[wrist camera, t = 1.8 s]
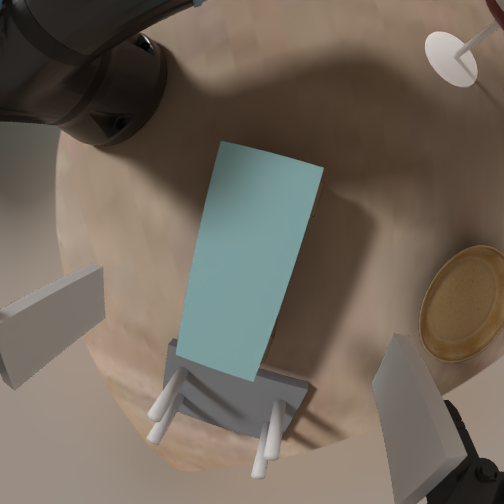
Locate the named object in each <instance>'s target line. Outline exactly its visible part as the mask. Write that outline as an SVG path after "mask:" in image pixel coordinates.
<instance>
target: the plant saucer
mask: <svg viewBox="0 0 504 504" xmlns="http://www.w3.org/2000/svg"><path fill="white" fill-rule="evenodd" d="M503 327H504V254H503V253H502V252H501V251H500V250H498V249H496V248H494V247H492V246H488V245H476V246H472V247H469V248H467V249H464V250H462V251H461V252H459V253H457V254H456V255H455V256H453V257H452V258H451V259H449V260H448V261H447V262H446V263H445V264H444V266H443V267H442V268H441V269H440V270H439V271H438V273H437V274H436V275H435V277H434V279H433V280H432V282H431V284H430V285H429V287H428V289H427V291H426V294H425V296H424V299H423V302H422V305H421V309H420V314H419V334H420V339H421V342H422V345H423V347H424V348H425V350H426V351H427V353H429V354H430V355H431V356H432V357H433V358H435V359H437V360H439V361H442V362H448V363H455V362H460V361H464V360H467V359H469V358H471V357H474V356H475V355H477V354H479V353H480V352H482V351H483V350H484V349H486V348H487V347H488V346H489V345H490V344H491V343H492V342H493V341H494V340H495V338H496V337H497V336H498V335H499V333H500V332H501V330H502V329H503Z"/></svg>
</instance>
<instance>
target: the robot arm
mask: <svg viewBox="0 0 504 504" xmlns="http://www.w3.org/2000/svg"><path fill="white" fill-rule="evenodd" d="M204 1H207V0H0V122H20V123H33V124H47V125H55V126H57V127H58V128H60V129H61V130H63V131H64V132H66V133H67V134H69V135H70V136H72V137H73V138H75V139H77V140H78V141H80V142H83V143H86V144H90V145H101V146H106V145H113V144H116V143H119V142H121V141H124V140H125V139H127V138H129V137H130V136H132V135H133V134H135V133H136V132H137V131H138V130H139V129H140V128H141V127H142V126H143V125H144V124H145V123H146V122H147V121H148V119H149V118H150V117H151V115H152V114H153V113H154V111H155V109H156V108H157V106H158V104H159V102H160V100H161V97H162V95H163V92H164V88H165V84H166V79H167V64H166V59H165V56H164V53H163V51H162V50H161V48H160V47H159V45H158V44H157V43H155V42H154V41H153V40H152V39H150V38H149V37H148V36H146V35H145V34H143V33H140V31H142V30H144V29H146V28H148V27H150V26H152V25H154V24H156V23H157V22H159V21H161V20H164V19H166V18H168V17H170V16H172V15H174V14H176V13H178V12H181V11H183V10H185V9H187V8H190V7H192V6H194V7H195V8H196V7H199V6H201V5H202V3H203V2H204ZM104 318H105V305H104V282H103V267H102V266H99V265H96V264H93V263H90V264H88V265H86V266H84V267H82V268H80V269H78V270H76V271H74V272H72V273H70V274H67V275H65V276H63V277H61V278H59V279H57V280H56V281H53V282H51V283H49V284H48V285H45V286H43V287H41V288H39V289H38V290H36V291H34V292H32V293H30V294H28V295H26V296H24V297H22V298H20V299H18V300H16V301H14V302H13V303H11V304H9V305H7V306H5V307H3V308H1V309H0V373H1V376H2V378H3V381H4V382H5V383H6V384H7V385H9V386H10V387H11V388H12V389H14V390H16V389H17V388H18V387H19V386H21V385H22V384H23V383H24V382H26V381H27V380H28V379H29V378H30V377H32V376H33V375H34V374H35V373H36V372H38V371H39V370H40V369H41V368H43V367H44V366H45V365H46V364H47V363H49V362H50V361H51V360H52V359H54V358H55V357H56V356H57V355H59V354H60V353H61V352H62V351H63V350H65V349H66V348H67V347H68V346H70V345H71V344H72V343H73V342H75V341H76V340H77V339H79V338H80V337H81V336H83V335H84V334H85V333H86V332H88V331H89V330H90V329H91V328H93V327H94V326H95V325H97V324H98V323H99V322H101V321H102V320H103V319H104ZM371 384H372V388H373V392H374V396H375V401H376V405H377V409H378V413H379V418H380V423H381V427H382V432H383V436H384V442H385V447H386V452H387V457H388V463H389V469H390V475H391V481H392V487H393V494H394V501H395V504H417V503H418V502H419V501H420V500H421V499H423V498H424V497H425V496H426V498H427V504H504V472H500V471H499V470H498V468H497V466H496V465H495V464H494V463H493V462H492V461H491V460H489V459H486V458H479V456H478V454H477V452H476V449H475V447H474V445H473V443H472V440H471V438H470V436H469V433H468V431H467V429H465V425H464V423H463V421H461V420H462V418H461V416H460V414H459V412H458V410H457V409H456V408H455V407H454V406H453V404H452V403H451V402H450V401H449V400H443V398H442V396H441V394H440V392H439V390H438V388H437V386H436V384H435V382H434V380H433V378H432V376H431V374H430V373H429V371H428V369H427V367H426V365H425V363H424V361H423V359H422V357H421V356H420V354H419V352H418V350H417V348H416V347H415V345H414V343H413V341H412V339H411V338H410V336H409V335H402V334H396V333H394V335H393V337H392V340H391V342H390V344H389V347H388V349H387V351H386V353H385V356H384V358H383V360H382V362H381V364H380V367H379V369H378V371H377V373H376V375H375V377H374V379H373V381H372V383H371Z"/></svg>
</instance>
